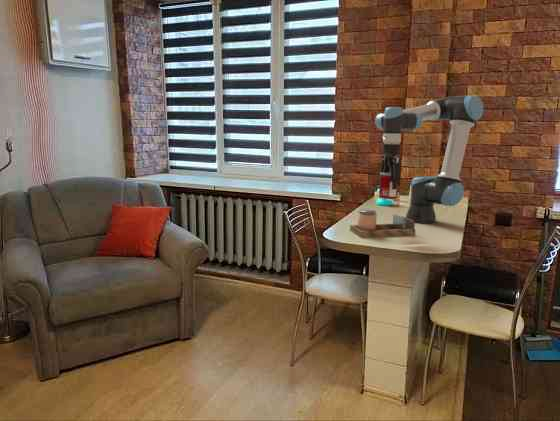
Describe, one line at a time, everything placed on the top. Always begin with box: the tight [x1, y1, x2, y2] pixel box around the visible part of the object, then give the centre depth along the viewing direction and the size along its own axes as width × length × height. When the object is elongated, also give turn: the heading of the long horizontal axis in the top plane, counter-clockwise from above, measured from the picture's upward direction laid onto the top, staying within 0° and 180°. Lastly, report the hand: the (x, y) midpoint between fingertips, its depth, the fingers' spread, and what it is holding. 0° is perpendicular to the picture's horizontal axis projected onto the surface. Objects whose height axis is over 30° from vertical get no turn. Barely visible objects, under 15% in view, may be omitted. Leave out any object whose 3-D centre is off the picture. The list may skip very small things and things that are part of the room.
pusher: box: [392, 214, 407, 230], centre depth 198 cm, size 4×10×7 cm, turn 12°
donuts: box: [376, 188, 393, 206], centre depth 274 cm, size 10×10×10 cm
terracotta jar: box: [357, 208, 377, 231], centre depth 194 cm, size 8×8×10 cm
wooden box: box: [349, 216, 416, 238], centre depth 196 cm, size 26×12×7 cm, turn 102°
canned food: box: [378, 171, 399, 200], centre depth 193 cm, size 8×8×11 cm
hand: (388, 195), depth 194 cm, fingers closed on canned food, 8 cm apart
